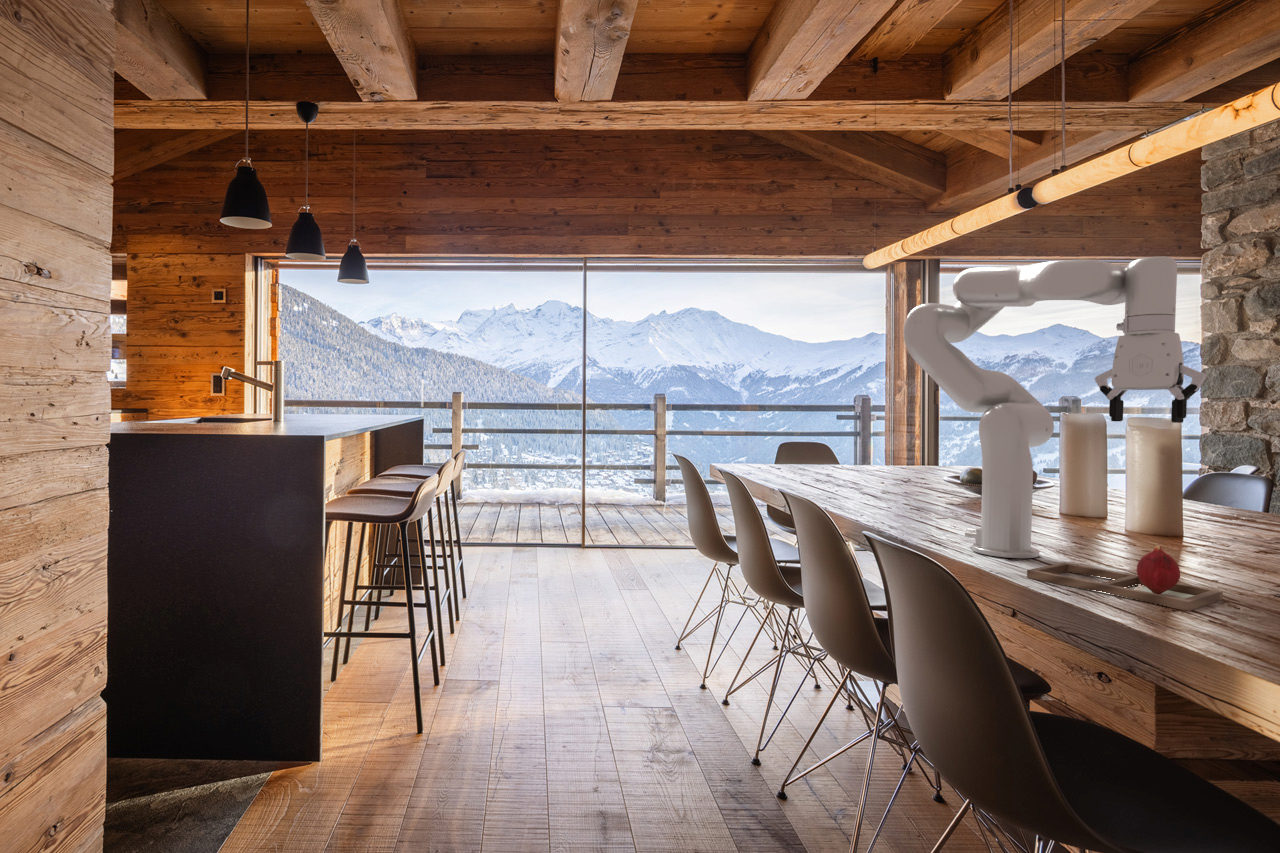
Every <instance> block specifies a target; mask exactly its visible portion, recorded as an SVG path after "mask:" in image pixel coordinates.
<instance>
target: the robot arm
mask: <svg viewBox="0 0 1280 853" xmlns="http://www.w3.org/2000/svg"><path fill="white" fill-rule="evenodd" d="M1177 278H1178V264H1177V261H1176V260H1175V259H1174V258H1172V257H1171V256H1147V257H1142V258H1137V259H1135V260H1132V261H1131V262H1129V264H1127V265H1121V264H1120V265H1119V264H1115V263H1111V262H1107V261H1103V260H1098V259H1067V260H1066V259H1065V260H1063V259H1062V260H1051V261H1049V260H1048V261H1043V262H1037V263H1036V262H1035V263H1030V264H1029V263H1028V264H1016V265H1014V264H1013V265H992V266H975V267H970V268H966V269H964V270H962V271H960V273H958V275H957V276H955V279H954V280H953V283H952V292H953V296H954V297H955V299H956V300H957V301H958V302H956V303H955V305H950V304H945V303H943V304H942V303H937V302H926V303H922V304H920V305H919V304H918V305H916V306H915V307H914V308H912V309H911V310H910V311H909V313H908V314H907V316H906V318H905V321H904V325H903V341H904V343H905V348H906V349H907V352H908V353H909V355H910V356H911V359H913V360H914V361H915V363H916V364H917V365H918V366H919V367H920V368H921V369H922V370H923V371H924V372H925V373H926V374H927V375H929V377H930V378H931V379H932V380H933V381H934V382H935V383H936V385H938V386H939V387H940V389H942V391H943V392H944V393H945V394H946V395H947V396H948V397H949V398H950V399H951V400H952V401H953V402H954V404H956V405H957V406H958V407H959V408H960V409H962V410H964V411H965V412H969V413H978V414H982V415H981V418H980V420H979V424H978V436H979V441H980V442H979V443H980V449H981V459H982V460H981V463H982V466H981V468H982V469H981V471H982V472H981V478H982V479H981V508H980V509H981V514H980V515H981V516H980V528H971V527H967V528H966V531H965V532H964V536H965V538H970V539H974V540H975V543H972V548H971V550H972V551H974V552H975V553H977V554H981V555H986V556H990V557H997V558H1004V559H1005V558H1009V559H1010V558H1011V559H1034V558H1038V557H1039V556H1040V550H1039V549H1038V548H1036V547H1033V546H1032V526H1033V525H1032V522H1033V518H1032V517H1033V492H1034V491H1033V490H1034V489H1033V487H1034V486H1033V485H1034V484H1033V483H1034V467H1033V466H1034V464H1033V458H1032V454H1031V450H1030V448H1034V447H1038V446H1042V445H1044V444H1046V443H1047V442H1048V441H1049V440H1050V439H1051V437H1052V435H1053V433H1054V429H1055V423H1054V419H1053V417H1052V414H1051V413H1050V411H1049V410H1048V409H1047V408H1046V407H1045V406H1044V405H1043V404H1042V403H1041V402H1040V401H1039V400H1038V399H1037V398H1036V397H1034V396H1033V395H1032V394H1031V392H1029V391H1028V390H1027V389H1025V387H1024V386H1022V385H1021V383H1019V382H1018V381H1017V380H1015V379H1014V377H1012V376H1010V375H1008V374H1007V373H1004V372H1002V371H998V370H991V369H990V370H989V369H984V368H981V367H979V366H978V365H977V364H975V363H974V361H972V360H971V359H970V358H969V357H968V356H967V355H966V354H965V353H964V352H963V351H962V350H960V349H959V348H957V347H956V346H954V345H953V344H956V343H960V342H963V341H965V340H967V339H968V338H970V337H971V336H972V335H974V334H975V333H976V332H978V331H979V329H981V328H982V327H983V326H984V325H985V324H987V323H989V321H990V320H992V319H993V318H994V317H996V315H997V314H999V313H1000V312H1001V311H1002V310H1003V309H1004V308H1006V307H1024V308H1025V307H1032V306H1033V305H1034V304H1035V303H1037V302H1043V301H1044V302H1045V301H1082V302H1083V301H1084V302H1090V303H1093V304H1096V305H1097V304H1098V305H1103V306H1115V305H1119V304H1124V303H1125V305H1124V318H1123V322H1120V323H1117V324H1116V328H1115V329H1116V330H1117V331H1122V332H1123V334H1124V335H1118V339H1117V342H1116V346H1115V351H1114V355H1113V361H1112V368H1111V369H1108V370H1106V371H1104V372H1103V373H1100V374H1098V375H1097V376H1095V378H1094V382H1095V383H1096V384H1097V387H1099V391H1100V392H1101V393H1102V394H1103V395H1104V396H1105V397H1106V399H1108V400H1109V406H1108V407H1109V408H1108V409H1109V411H1108V413H1109V414H1108V416H1109V417H1110V420H1111V422H1122V421H1124V403H1125V402H1124V400H1123V399H1121V398H1122V397H1123V396H1124V395H1125V394H1126V393H1127V392H1128V391H1129V390H1133V391H1136V390H1137V391H1139V390H1140V391H1142V390H1145V391H1147V390H1151V391H1152V390H1155V391H1157V390H1161V391H1162V390H1168V391H1169V392H1170V394H1172V396H1173V397H1174V399H1172V401H1171V416H1170V418H1171V419H1170V421H1171V422H1172V423H1176V424H1177V423H1178V424H1180V423H1181V424H1182V423H1184V419H1186V418H1187V408H1188V403H1187V402H1188V400H1190V399H1191V397H1192V396H1193V395H1195V394H1196V393H1197V392H1198V391H1199V390H1200V388H1201V386H1202V385H1203V383H1204V382H1205V380H1206V378H1207V375H1206V373H1203V372H1200V371H1198V370H1196V369H1195V368H1194V369H1193V368H1191V367H1189V366H1186V365H1184V354H1183V347H1182V342H1181V336H1180V334H1179V332H1176V312H1177V311H1176V310H1177V309H1176V308H1177V288H1178V286H1177V284H1178V283H1177V280H1178V279H1177ZM952 343H953V344H952ZM1184 375H1185V376H1188V377H1189V378H1191V381H1190V383H1189V385H1188V386H1186V387H1185V388H1184V387H1183V384H1184V380H1185V379H1184V377H1185V376H1184ZM1110 379H1111V386H1109V383H1108V381H1109V380H1110ZM1112 387H1113V388H1112Z"/></svg>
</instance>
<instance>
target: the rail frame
mask: <svg viewBox="0 0 1280 853" xmlns="http://www.w3.org/2000/svg"><path fill="white" fill-rule="evenodd" d="M1063 572H1064V573H1071V572H1072V574H1076V573H1080V574H1079V575H1082V574H1086V575H1085V576H1087V575H1093V576H1100V577H1106V578H1111V579H1115V580H1106V581H1103V582H1098V581H1092V580H1087V579H1082V578H1081V579H1080V578H1078V577H1074V576H1073V577H1072V576H1067V575H1062V574H1063ZM1026 578H1027V579H1030V580H1031V579H1032V580H1036V581H1042V582H1046V583H1051V584H1055V585H1060V584H1061V585H1060V586H1065V585H1067V586H1066V587H1069V586H1071V587H1070V588H1074V587H1078V588H1077V589H1079V588H1083V589H1082V590H1084V589H1089V590H1096V591H1102V592H1106V593H1110V594H1114V595H1119V596H1123V597H1127V598H1126V599H1128V598H1132V599H1137V600H1142V601H1146V602H1145V603H1147V602H1150V603H1149V604H1152V603H1154V604H1153V605H1157V604H1159V605H1158V606H1162V605H1163V607H1166V606H1167V608H1173V609H1177V610H1181V611H1187V612H1190V611H1194V610H1197V609H1199V608H1203V607H1205V606H1209V605H1211V604H1215V603H1217V602H1221V601H1223V599H1224V591H1223V590H1220V589H1213V588H1208V587H1202V586H1196V585H1190V584H1187V583H1186V584H1185V583H1180V582H1178V583H1177V584H1176V585H1175V586H1174V587H1172V588H1171V589H1169V590H1167V591H1165V592H1163V593H1162V594H1155V593H1153V592H1152V591H1151V590H1149V589H1148V588H1147V587H1146V586H1142V585H1143V584H1142V582H1141V581H1140V580H1139V578H1138V576H1137V574H1129V573H1124V572H1119V571H1115V570H1110V569H1109V570H1108V569H1103V568H1097V567H1091V566H1085V565H1079V564H1075V563H1070V562H1069V563H1068V562H1061V563H1054V564H1049V565H1046V566H1041V567H1040V566H1039V567H1036V568H1030V569H1027V570H1026ZM1135 584H1141V586H1142V588H1143V589H1139V590H1134V589H1135V586H1132V585H1135ZM1128 586H1132V587H1129V588H1124V587H1128ZM1138 588H1140V587H1138ZM1089 590H1088V591H1089ZM1123 597H1122V598H1123ZM1132 599H1131V600H1132ZM1137 600H1136V601H1137ZM1142 601H1141V602H1142Z"/></svg>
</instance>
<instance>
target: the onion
mask: <svg viewBox="0 0 1280 853" xmlns="http://www.w3.org/2000/svg"><path fill="white" fill-rule="evenodd" d="M1136 576H1138V578H1139V580H1140V581H1141V582H1142V584H1143V585H1144V586H1146V587H1147V588H1148V589H1149V590H1151V591H1152V592H1153V593H1155V594H1162V593H1163V592H1165V591H1167V590H1169V589H1171V588H1172V587H1174V586H1175V585H1176V584H1177V583H1179V581H1180V578H1181V570H1180V567H1179V565H1178V563H1177V561H1176V559H1174V558H1173V557H1172V556H1170V555H1169V554H1168V553H1166V552H1165V551H1164V550H1163V547H1162V546H1161V545H1155V546H1154V549H1153V550H1152V551H1150V552H1148V553H1147V554H1145V555H1143V556H1142V557H1141V558H1140V559H1139V560H1138V563H1137V565H1136Z"/></svg>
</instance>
